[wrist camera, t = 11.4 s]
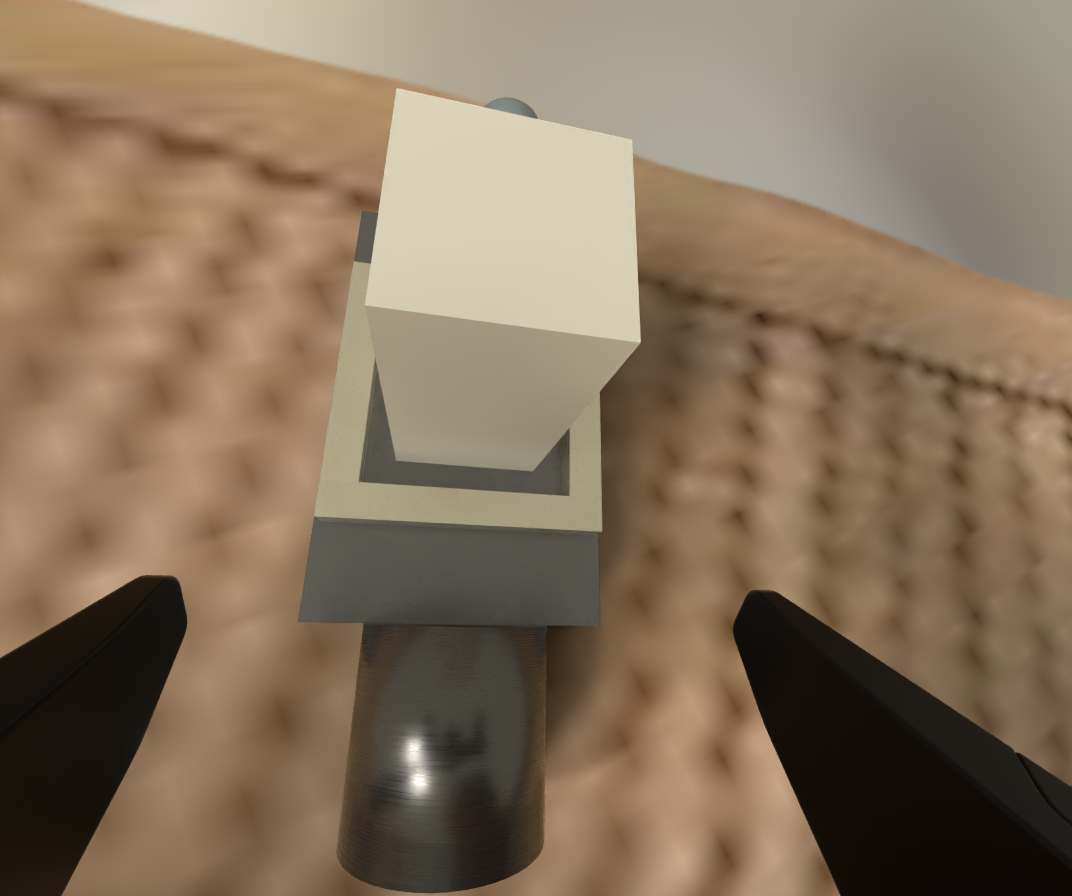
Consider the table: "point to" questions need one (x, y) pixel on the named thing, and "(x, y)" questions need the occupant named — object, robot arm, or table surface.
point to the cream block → (498, 279)
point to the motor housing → (445, 628)
